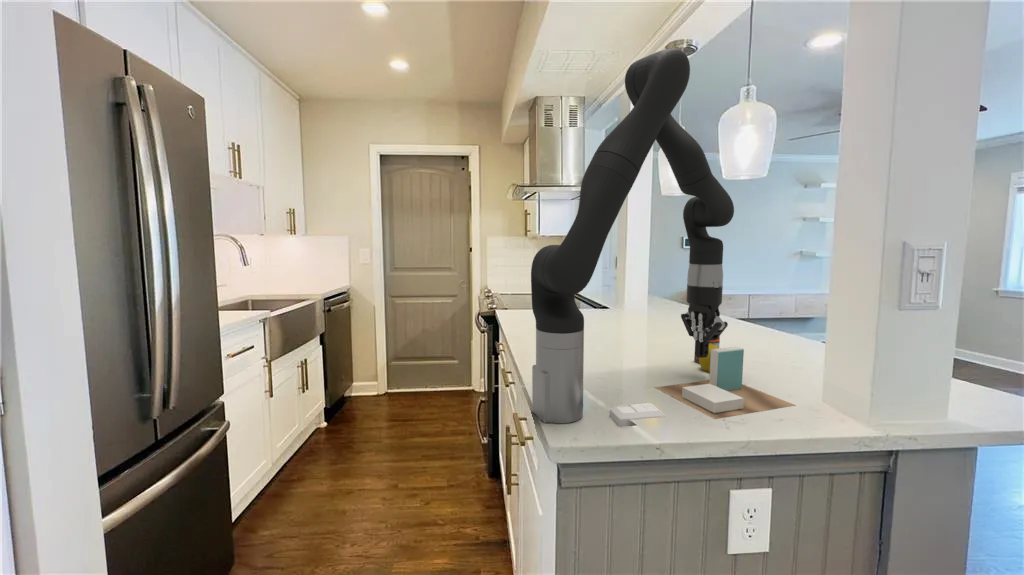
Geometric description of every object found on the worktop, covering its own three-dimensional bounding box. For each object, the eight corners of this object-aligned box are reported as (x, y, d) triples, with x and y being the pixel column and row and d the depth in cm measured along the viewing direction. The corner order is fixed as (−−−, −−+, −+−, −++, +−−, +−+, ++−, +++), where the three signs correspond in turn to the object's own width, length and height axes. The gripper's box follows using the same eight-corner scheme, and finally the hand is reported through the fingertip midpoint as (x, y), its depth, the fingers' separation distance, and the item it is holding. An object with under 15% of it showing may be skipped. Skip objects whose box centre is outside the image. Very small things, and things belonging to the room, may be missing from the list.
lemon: (725, 379, 107) (726, 347, 106) (701, 377, 108) (702, 346, 107) (719, 372, 112) (720, 341, 111) (696, 371, 114) (697, 340, 113)
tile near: (681, 397, 92) (714, 414, 83) (682, 387, 91) (714, 402, 83) (709, 393, 94) (743, 409, 85) (709, 383, 94) (743, 398, 85)
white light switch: (665, 424, 82) (665, 411, 82) (619, 428, 81) (620, 414, 81) (652, 414, 87) (652, 401, 87) (609, 417, 86) (609, 404, 85)
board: (714, 425, 81) (714, 418, 81) (654, 392, 98) (654, 387, 98) (795, 411, 87) (795, 405, 87) (725, 382, 104) (725, 377, 104)
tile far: (716, 392, 94) (718, 351, 93) (709, 389, 97) (710, 349, 95) (742, 388, 97) (744, 349, 96) (734, 385, 99) (736, 346, 98)
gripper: (672, 281, 106) (669, 351, 108) (713, 287, 94) (709, 366, 96) (697, 280, 109) (694, 348, 111) (740, 285, 96) (736, 362, 98)
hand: (701, 356), depth 103 cm, fingers closed
